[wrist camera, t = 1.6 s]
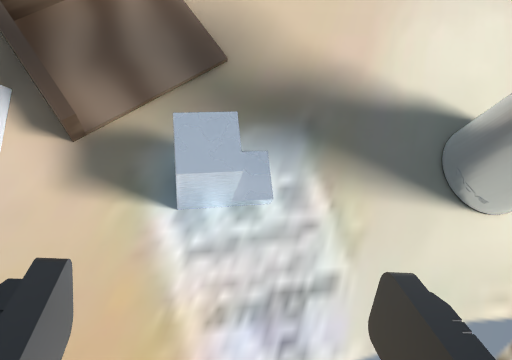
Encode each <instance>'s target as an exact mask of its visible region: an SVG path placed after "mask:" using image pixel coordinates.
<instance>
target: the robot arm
mask: <svg viewBox="0 0 512 360" xmlns="http://www.w3.org/2000/svg"><path fill="white" fill-rule="evenodd" d="M442 162H443V170H444V174H445V177H446V179H447V181H448V183H449V185H450V187H451V188H452V190H453V191H454V193H455V194H456V195H457V196H458V197H459V198H460V199H461V200H462V201H463V202H464V203H466V204H467V205H468V206H470V207H471V208H473V209H475V210H477V211H480V212H483V213H487V214H495V215H500V214H504V213H509V212H511V211H512V93H511V94H510V95H508V96H507V97H505V98H504V99H502V100H501V101H500V102H498V103H497V104H495V105H494V106H493V107H491V108H490V109H488V110H487V111H485V112H484V113H483V114H481V115H479V116H478V117H477V118H475V119H474V120H473V121H471V122H470V123H468V124H467V125H466V126H464V127H463V128H461V129H460V130H459V131H457V132H456V133H454V134H453V135H452V136H451V137H450V138H449V140H448V141H447V143H446V145H445V147H444V150H443V156H442ZM461 320H462V319H461V318H460V317H459V316H458V315H457V313H456V312H455V311H454V310H453V309H452V307H451V306H450V305H449V304H447V303H446V302H445V301H443V300H442V299H440V298H439V297H438V296H436V295H435V294H433V293H432V292H429V291H428V290H427V289H426V287H425V286H424V285H423V284H422V282H421V281H420V280H419V279H418V277H417V276H416V275H414V274H413V273H394V272H386V273H384V274H383V275H382V276H381V278H380V281H379V285H378V288H377V292H376V295H375V299H374V302H373V306H372V309H371V313H370V316H369V321H368V330H369V336H370V339H371V342H372V344H373V346H374V348H375V350H376V352H377V354H378V355H379V357H380V359H381V360H496V359H495V358H494V357H493V356H492V355H491V354H490V352H489V351H488V350H487V349H486V348H485V347H484V345H483V344H482V343H481V342H480V341H479V339H478V338H477V337H476V336H475V335H474V334H472V331H471V330H470V329H469V328H468V327H467V325H466V324H465V323H464V322H462V321H461ZM72 322H73V279H72V262H71V260H70V259H56V258H36V259H35V260H34V261H33V263H32V264H31V266H30V268H29V269H28V271H27V273H26V274H25V276H24V278H23V279H7V280H5V281H4V282H3V283H1V284H0V360H61V359H62V356H63V354H64V351H65V348H66V345H67V343H68V340H69V337H70V333H71V328H72Z"/></svg>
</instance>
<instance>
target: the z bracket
mask: <svg viewBox="0 0 512 360" xmlns="http://www.w3.org/2000/svg"><path fill="white" fill-rule="evenodd" d="M11 93H12V89H10V88H7V87H5V86H2V85H0V150H1V145H2V140H3V134H4V129H5V124H6V119H7V114H8V108H9V103H10V98H11Z"/></svg>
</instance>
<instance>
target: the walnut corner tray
mask: <svg viewBox="0 0 512 360" xmlns="http://www.w3.org/2000/svg"><path fill="white" fill-rule="evenodd" d="M0 31H1V33H2V34H3V36H4V37H5V39H6V40H7V42H8V43H9V45H10V46H11V48H12V49H13V51H14V53H15V54H16V56H17V57H18V59H19V60H20V62H21V63H22V65H23V66H24V68H25V69H26V71H27V72H28V74H29V75H30V77H31V78H32V80H33V81H34V83H35V84H36V86H37V88H38V89H39V91H40V92H41V94H42V95H43V97H44V98H45V100H46V101H47V103H48V104H49V106H50V107H51V109H52V110H53V112H54V113H55V115H56V116H57V118H58V119H59V121H60V123H61V124H62V126H63V127H64V129H65V130H66V132H67V133H68V135H69V136H70V138H71V139H72V141H73V142H74V141H76V140H78V139H80V138H82V137H84V136H86V135H87V134H89V133H91V132H93V131H95V130H97V129H99V128H101V127H103V126H105V125H106V124H108V123H110V122H112V121H114V120H116V119H118V118H120V117H122V116H124V115H125V114H127V113H129V112H131V111H133V110H135V109H137V108H139V107H141V106H143V105H145V104H146V103H148V102H150V101H152V100H154V99H156V98H158V97H160V96H162V95H164V94H165V93H167V92H169V91H171V90H173V89H175V88H177V87H179V86H181V85H183V84H184V83H186V82H188V81H190V80H192V79H194V78H196V77H198V76H200V75H202V74H203V73H205V72H207V71H209V70H211V69H213V68H215V67H217V66H219V65H221V64H223V63H224V62H226V61H227V59H228V58H227V57H226V55H225V54H224V53H223V51H222V50H221V49H220V47H219V46H218V45H217V44H216V42H215V41H214V40H213V38H212V37H211V36H210V34H209V33H208V32H207V31H206V29H205V28H204V27H203V25H202V24H201V23H200V21H199V20H198V19H197V17H196V16H195V15H194V14H193V12H192V11H191V10H190V8H189V7H188V6H187V4H186V3H185V2H184V1H183V0H0Z"/></svg>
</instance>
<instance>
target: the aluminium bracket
mask: <svg viewBox="0 0 512 360" xmlns="http://www.w3.org/2000/svg"><path fill="white" fill-rule="evenodd" d="M173 128H174V157H175V177H176V195H177V210H181V209H197V208H213V207H229V206H245V205H261V204H270V203H271V202H272V200H273V192H272V184H271V176H270V168H269V160H268V152H267V151H251V152H242V151H241V142H240V132H239V123H238V113H237V112H193V113H173Z"/></svg>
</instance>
